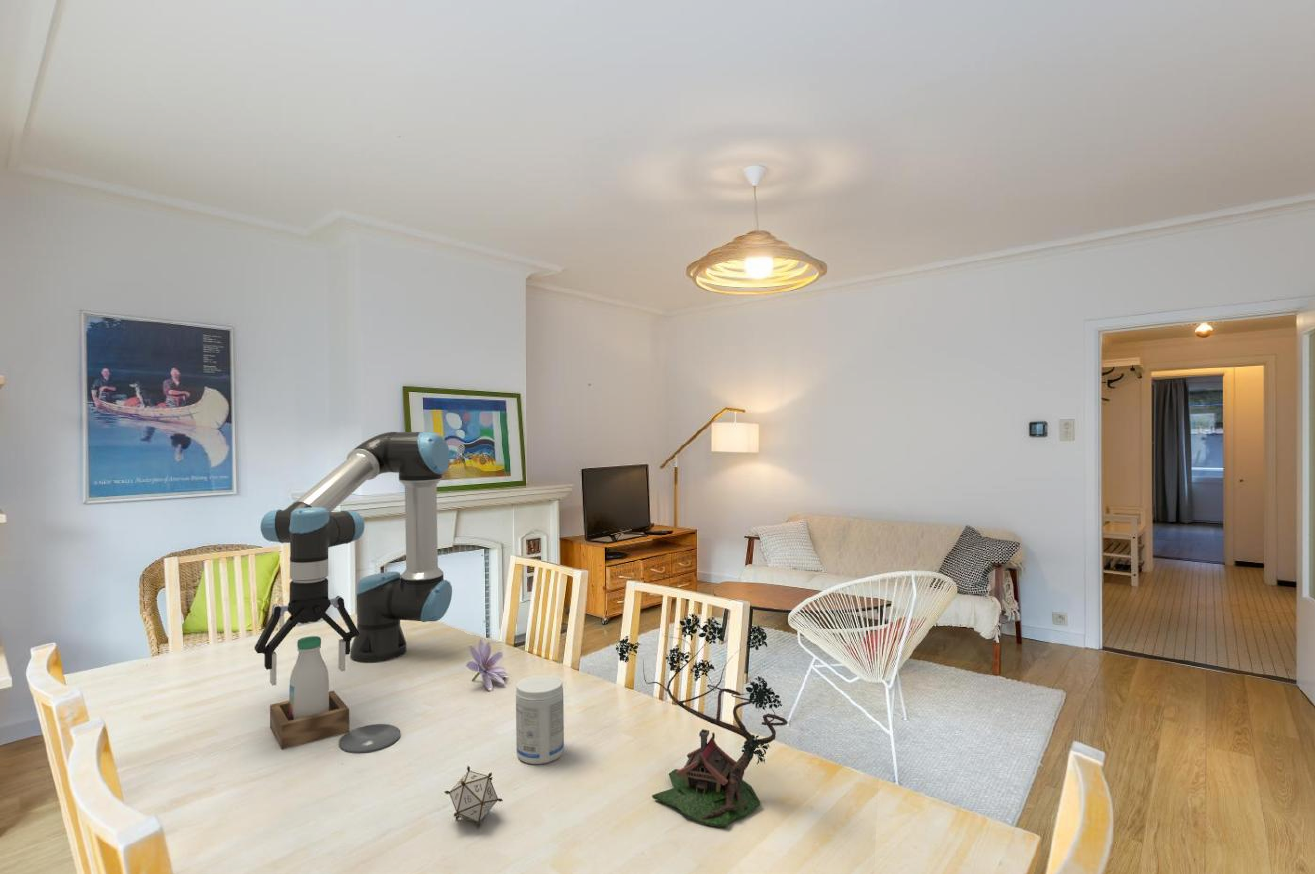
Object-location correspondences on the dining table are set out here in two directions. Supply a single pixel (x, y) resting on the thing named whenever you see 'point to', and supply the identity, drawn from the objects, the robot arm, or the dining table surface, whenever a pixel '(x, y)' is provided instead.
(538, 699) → the supplement tub
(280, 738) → the walnut pocket
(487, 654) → the water lily
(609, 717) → the dining table surface
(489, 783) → the game die
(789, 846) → the dining table surface
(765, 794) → the dining table surface
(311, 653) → the milk bottle
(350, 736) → the slate coaster
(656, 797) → the bonsai tree
